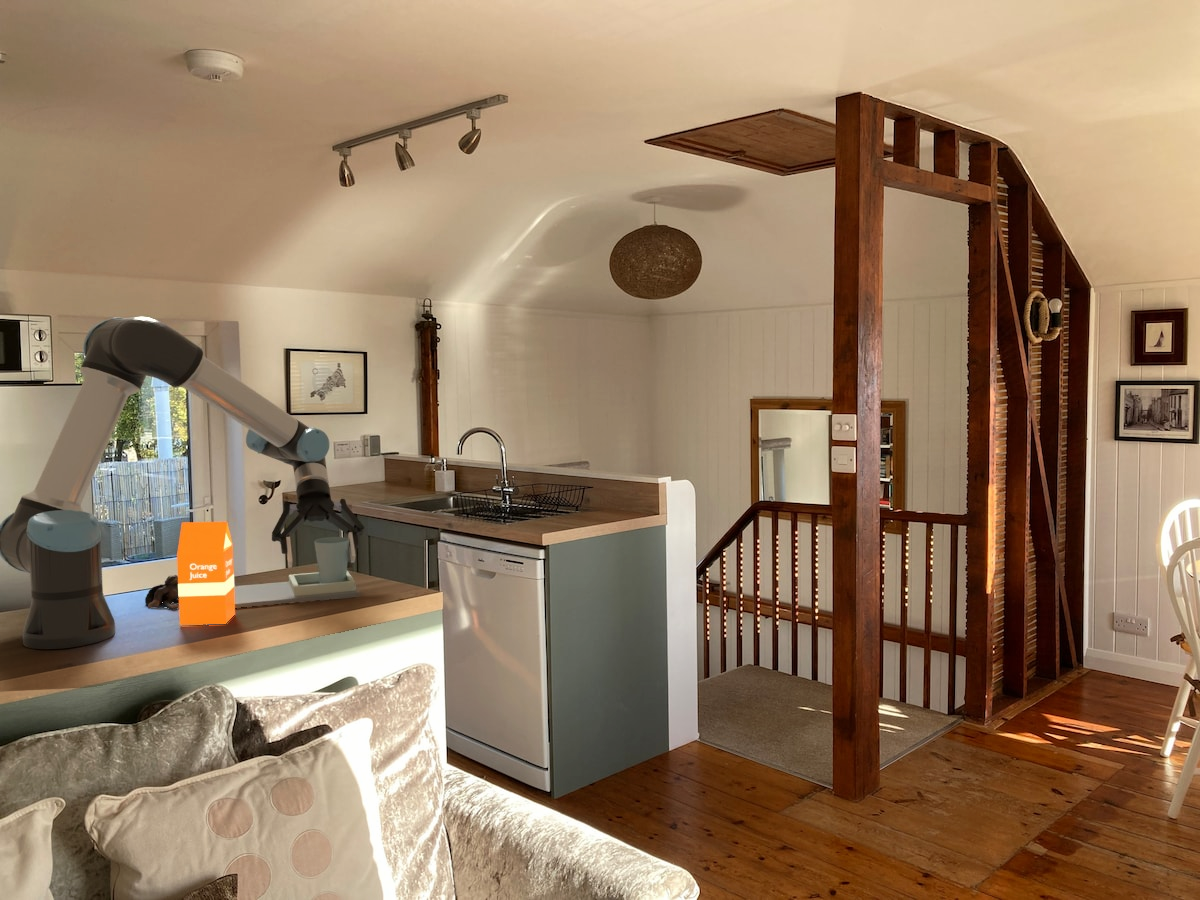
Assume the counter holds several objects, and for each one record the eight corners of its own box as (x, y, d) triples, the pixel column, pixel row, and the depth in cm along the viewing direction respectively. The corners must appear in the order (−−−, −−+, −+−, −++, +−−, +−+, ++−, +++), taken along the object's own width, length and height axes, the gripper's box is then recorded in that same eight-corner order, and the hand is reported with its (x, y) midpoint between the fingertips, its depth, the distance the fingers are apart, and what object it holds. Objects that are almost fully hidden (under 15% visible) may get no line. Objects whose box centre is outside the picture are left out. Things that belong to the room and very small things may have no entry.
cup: (307, 586, 214) (306, 540, 213) (333, 579, 221) (333, 535, 220) (331, 590, 210) (330, 544, 209) (357, 583, 217) (356, 539, 216)
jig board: (233, 608, 198) (232, 594, 198) (230, 590, 214) (229, 577, 214) (359, 596, 209) (359, 583, 208) (347, 580, 224) (347, 568, 224)
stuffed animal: (155, 609, 195) (140, 569, 202) (150, 641, 200) (135, 601, 207) (214, 599, 202) (197, 560, 209) (207, 630, 207) (191, 591, 214)
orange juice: (226, 625, 186) (222, 524, 185) (179, 626, 185) (175, 525, 183) (235, 614, 194) (232, 518, 192) (190, 616, 193) (186, 519, 191)
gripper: (364, 493, 231) (377, 566, 219) (256, 499, 221) (262, 576, 209) (367, 474, 226) (380, 547, 213) (256, 479, 216) (263, 556, 203)
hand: (322, 562), depth 211 cm, fingers open, 13 cm apart
